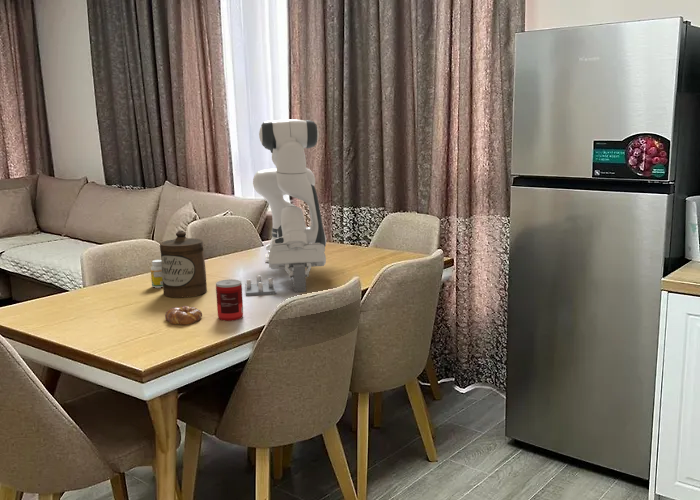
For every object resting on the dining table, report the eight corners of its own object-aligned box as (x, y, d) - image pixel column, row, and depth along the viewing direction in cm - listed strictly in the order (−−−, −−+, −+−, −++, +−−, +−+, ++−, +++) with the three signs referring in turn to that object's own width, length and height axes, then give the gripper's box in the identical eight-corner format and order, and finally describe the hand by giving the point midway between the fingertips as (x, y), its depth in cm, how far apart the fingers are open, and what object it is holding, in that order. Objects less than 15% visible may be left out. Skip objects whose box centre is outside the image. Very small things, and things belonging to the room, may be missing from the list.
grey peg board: (245, 286, 245) (244, 276, 244) (273, 285, 247) (272, 274, 246) (246, 295, 233) (245, 284, 232) (275, 294, 234) (275, 282, 233)
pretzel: (204, 324, 202) (203, 312, 201) (166, 328, 199) (165, 315, 198) (201, 313, 213) (200, 302, 213) (165, 317, 210) (164, 305, 210)
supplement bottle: (165, 288, 246) (163, 262, 244) (150, 288, 246) (148, 262, 244) (168, 284, 251) (166, 259, 249) (154, 285, 251) (152, 259, 249)
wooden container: (154, 296, 235) (149, 233, 230) (179, 286, 248) (175, 226, 244) (191, 299, 230) (187, 235, 225) (215, 289, 243) (211, 228, 239)
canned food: (233, 312, 213) (231, 278, 211) (248, 317, 207) (246, 282, 205) (212, 317, 208) (210, 282, 206) (227, 322, 202) (225, 286, 200)
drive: (292, 287, 243) (291, 262, 241) (304, 286, 243) (303, 262, 241) (294, 292, 236) (293, 267, 234) (306, 291, 236) (305, 266, 235)
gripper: (323, 247, 250) (327, 279, 242) (267, 250, 246) (269, 282, 239) (324, 237, 245) (329, 269, 237) (267, 240, 241) (270, 273, 234)
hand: (298, 276), depth 238 cm, fingers closed on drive, 4 cm apart
